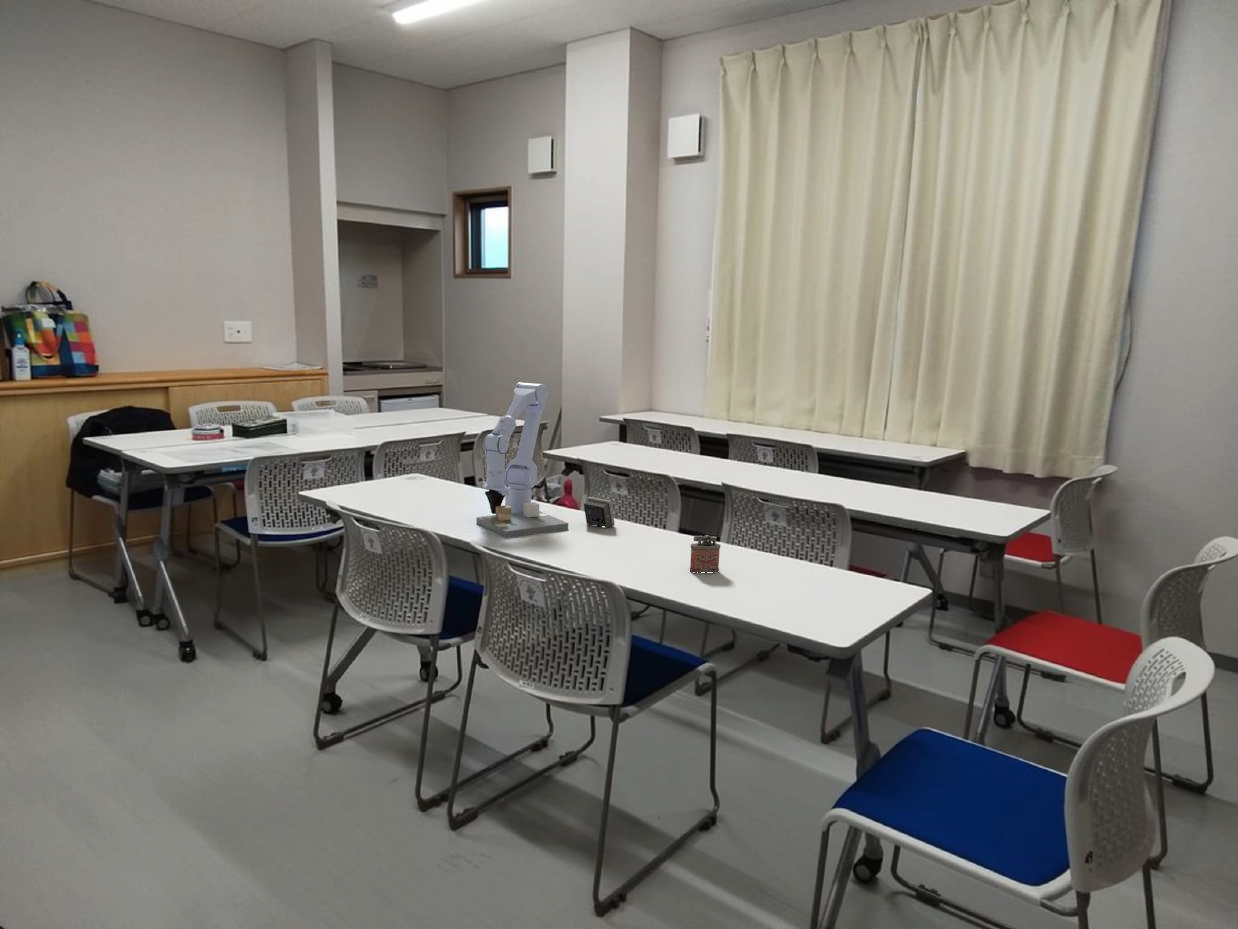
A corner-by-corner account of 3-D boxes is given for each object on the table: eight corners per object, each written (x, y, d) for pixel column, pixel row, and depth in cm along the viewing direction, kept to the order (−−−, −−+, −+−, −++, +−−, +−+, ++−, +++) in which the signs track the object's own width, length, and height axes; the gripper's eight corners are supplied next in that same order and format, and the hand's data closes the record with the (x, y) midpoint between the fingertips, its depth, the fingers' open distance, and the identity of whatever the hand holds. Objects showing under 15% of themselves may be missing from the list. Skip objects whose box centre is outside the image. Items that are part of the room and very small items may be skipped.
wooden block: (495, 518, 262) (495, 506, 261) (507, 517, 264) (507, 505, 263) (500, 520, 259) (500, 508, 259) (511, 519, 262) (511, 507, 261)
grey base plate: (476, 523, 264) (476, 516, 264) (536, 515, 277) (536, 509, 276) (505, 537, 248) (505, 531, 248) (568, 529, 261) (568, 522, 260)
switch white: (523, 515, 267) (523, 503, 267) (534, 514, 270) (534, 502, 269) (528, 517, 265) (528, 505, 264) (539, 516, 267) (539, 504, 267)
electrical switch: (615, 526, 266) (614, 499, 264) (606, 531, 262) (605, 503, 260) (591, 522, 271) (590, 495, 269) (582, 526, 267) (581, 499, 265)
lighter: (716, 569, 224) (718, 533, 222) (720, 573, 221) (722, 537, 219) (688, 570, 223) (689, 534, 221) (691, 574, 219) (693, 537, 218)
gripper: (474, 468, 267) (474, 509, 270) (494, 476, 256) (494, 519, 258) (494, 467, 271) (493, 507, 274) (514, 474, 260) (514, 516, 262)
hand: (495, 513), depth 266 cm, fingers closed
